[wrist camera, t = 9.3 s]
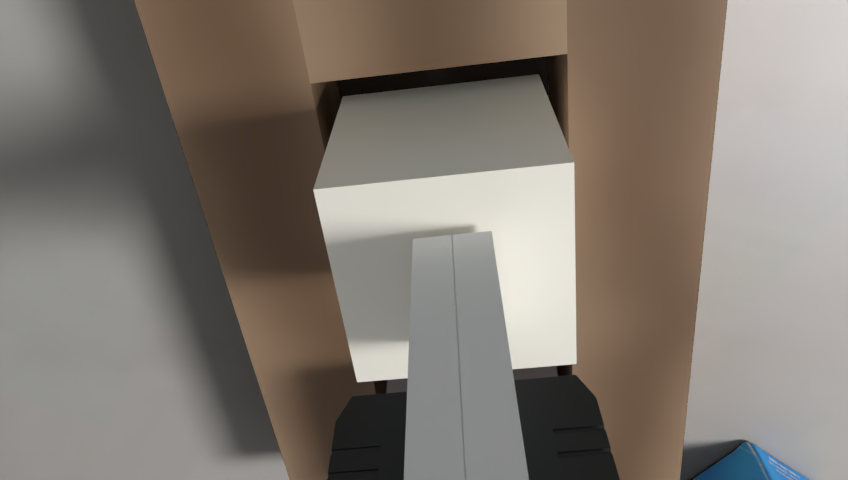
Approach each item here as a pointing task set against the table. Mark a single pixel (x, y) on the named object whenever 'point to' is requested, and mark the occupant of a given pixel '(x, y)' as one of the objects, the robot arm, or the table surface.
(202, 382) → the table surface
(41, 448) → the table surface
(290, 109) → the keypad base
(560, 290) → the key ivory
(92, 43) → the table surface
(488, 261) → the robot arm
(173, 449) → the table surface
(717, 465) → the ink box
